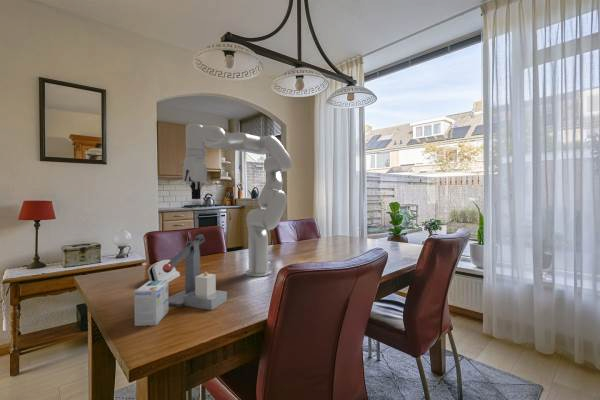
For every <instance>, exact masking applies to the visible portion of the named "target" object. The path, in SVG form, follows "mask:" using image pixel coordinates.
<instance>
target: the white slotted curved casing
mask: <svg viewBox="0 0 600 400" xmlns="http://www.w3.org/2000/svg"><path fill="white" fill-rule="evenodd" d="M171 260H172V259H163V260H160V261H157V262H155V263H153V264H152V265H150V267H149V268H148V269H147V275H148V279H149V280H148V281H162V280H168V283H170V282H172V281H173V280H174V279H177V278H179V277H180V276H181V273H180V271H177V269H176V266H175V267H174V268H173V269H172V270H171V271H170V272H168V273H166V272H164V271H163V266H164V265H165V264H167V263H168V262H169V261H171Z"/></svg>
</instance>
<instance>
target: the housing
mask: <svg viewBox="0 0 600 400" xmlns="http://www.w3.org/2000/svg"><path fill="white" fill-rule="evenodd" d="M216 275H217V274H215V273H208V272H207V271H203V273H200V275H198V276H196V277H195V295H200V296H209V295H211V294H213V293H215V292H216V290H217V289H216V287H217V285H216V284H217V280H216V279H217V277H216Z"/></svg>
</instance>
